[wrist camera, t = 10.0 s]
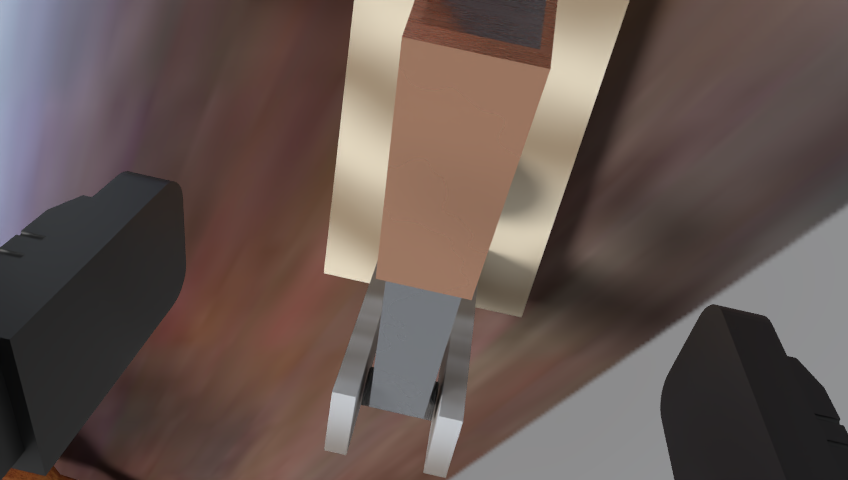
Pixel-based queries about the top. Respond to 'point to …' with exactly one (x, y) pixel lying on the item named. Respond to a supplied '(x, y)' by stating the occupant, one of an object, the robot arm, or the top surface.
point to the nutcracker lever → (450, 175)
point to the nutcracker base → (518, 224)
